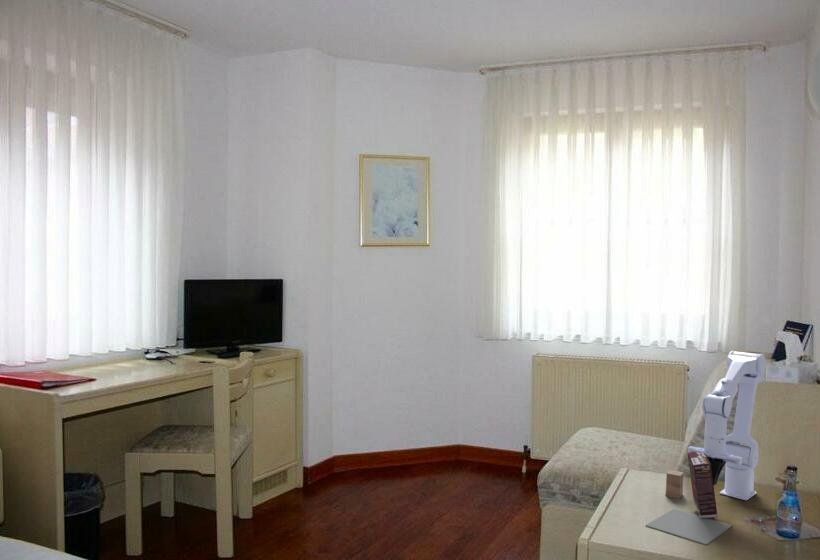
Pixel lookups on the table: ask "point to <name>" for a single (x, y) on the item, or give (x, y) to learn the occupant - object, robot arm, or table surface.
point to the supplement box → (702, 484)
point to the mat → (689, 526)
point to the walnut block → (674, 484)
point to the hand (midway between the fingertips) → (712, 483)
